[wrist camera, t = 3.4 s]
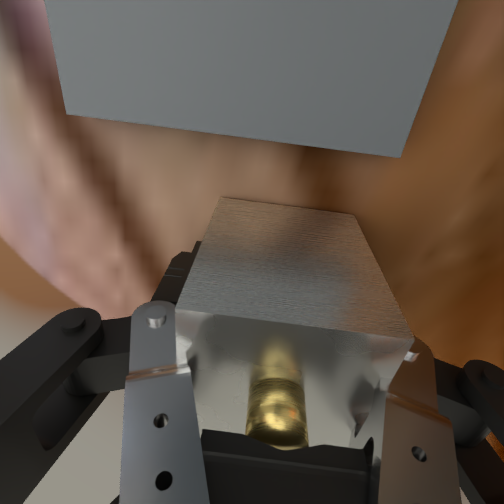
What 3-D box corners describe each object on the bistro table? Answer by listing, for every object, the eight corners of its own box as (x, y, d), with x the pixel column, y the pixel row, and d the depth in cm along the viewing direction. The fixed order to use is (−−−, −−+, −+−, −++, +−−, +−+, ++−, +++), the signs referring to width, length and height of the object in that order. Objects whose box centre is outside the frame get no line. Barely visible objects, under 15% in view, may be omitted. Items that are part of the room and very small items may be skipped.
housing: (353, 214, 11) (441, 392, 5) (322, 313, 14) (356, 506, 8) (220, 197, 11) (155, 356, 5) (213, 298, 14) (166, 481, 8)
